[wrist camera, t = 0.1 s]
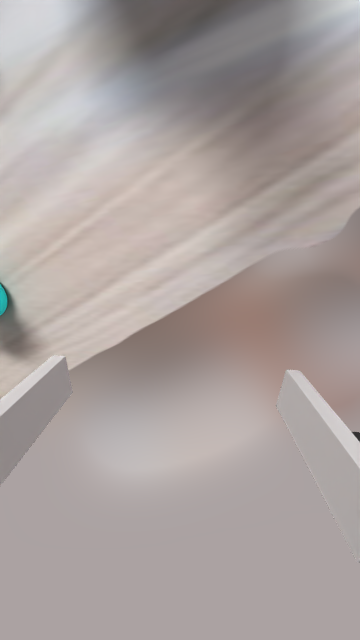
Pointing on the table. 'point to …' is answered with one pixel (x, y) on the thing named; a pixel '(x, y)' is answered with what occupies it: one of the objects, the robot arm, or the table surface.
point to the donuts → (2, 300)
